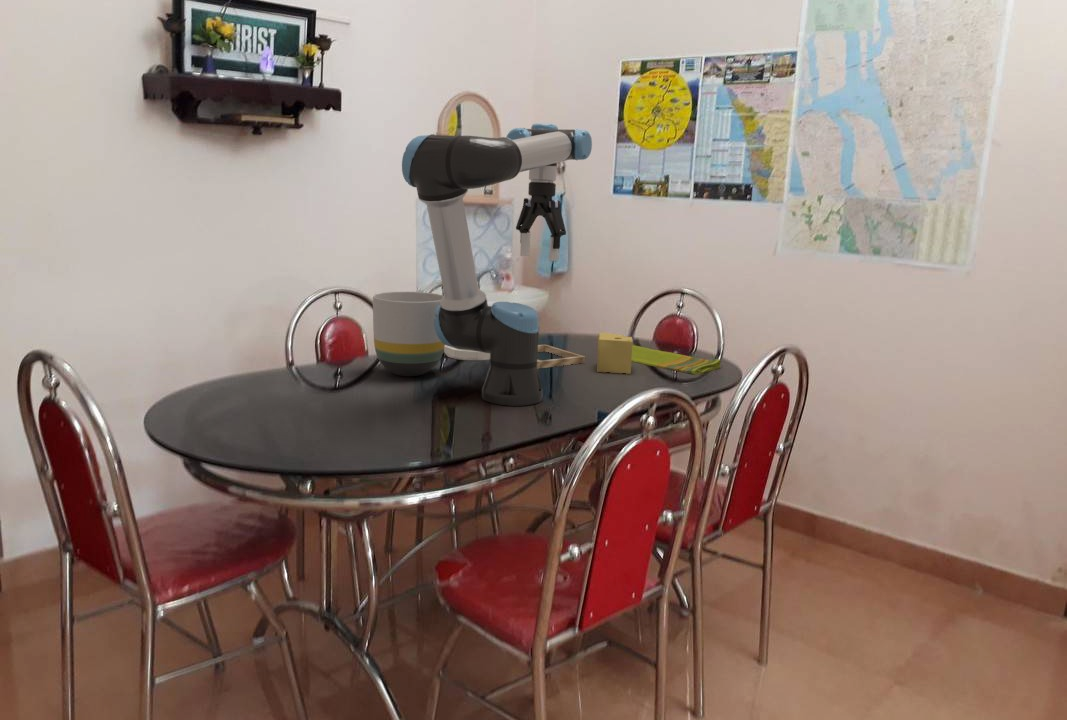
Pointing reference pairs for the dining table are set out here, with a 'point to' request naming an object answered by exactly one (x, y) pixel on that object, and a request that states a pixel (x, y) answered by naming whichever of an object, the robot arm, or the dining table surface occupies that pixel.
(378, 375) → the dining table surface
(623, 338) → the cheese
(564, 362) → the wooden frame
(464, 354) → the bowl
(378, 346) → the planter
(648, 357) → the dish towel
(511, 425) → the dining table surface
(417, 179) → the robot arm
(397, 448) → the dining table surface
